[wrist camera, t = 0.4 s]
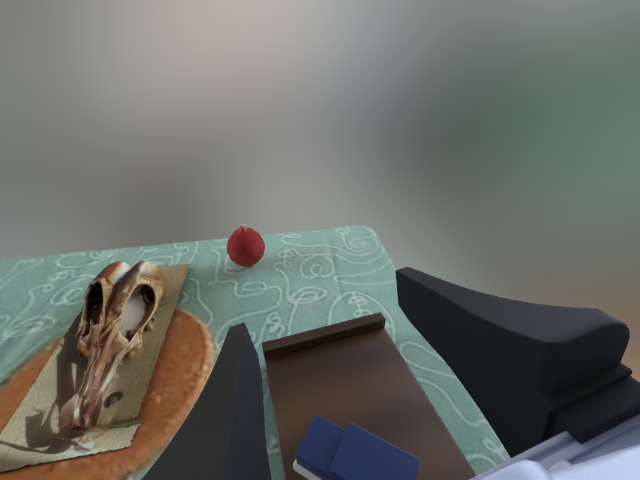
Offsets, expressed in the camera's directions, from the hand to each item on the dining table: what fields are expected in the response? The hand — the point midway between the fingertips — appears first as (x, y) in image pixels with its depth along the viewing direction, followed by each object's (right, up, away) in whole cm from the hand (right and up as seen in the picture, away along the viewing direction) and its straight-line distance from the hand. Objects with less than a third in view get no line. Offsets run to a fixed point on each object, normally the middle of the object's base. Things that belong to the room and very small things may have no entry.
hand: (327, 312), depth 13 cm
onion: (-12, -1, +35) cm, 37 cm away
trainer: (+2, -15, +9) cm, 17 cm away
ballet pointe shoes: (-26, -9, +23) cm, 36 cm away
